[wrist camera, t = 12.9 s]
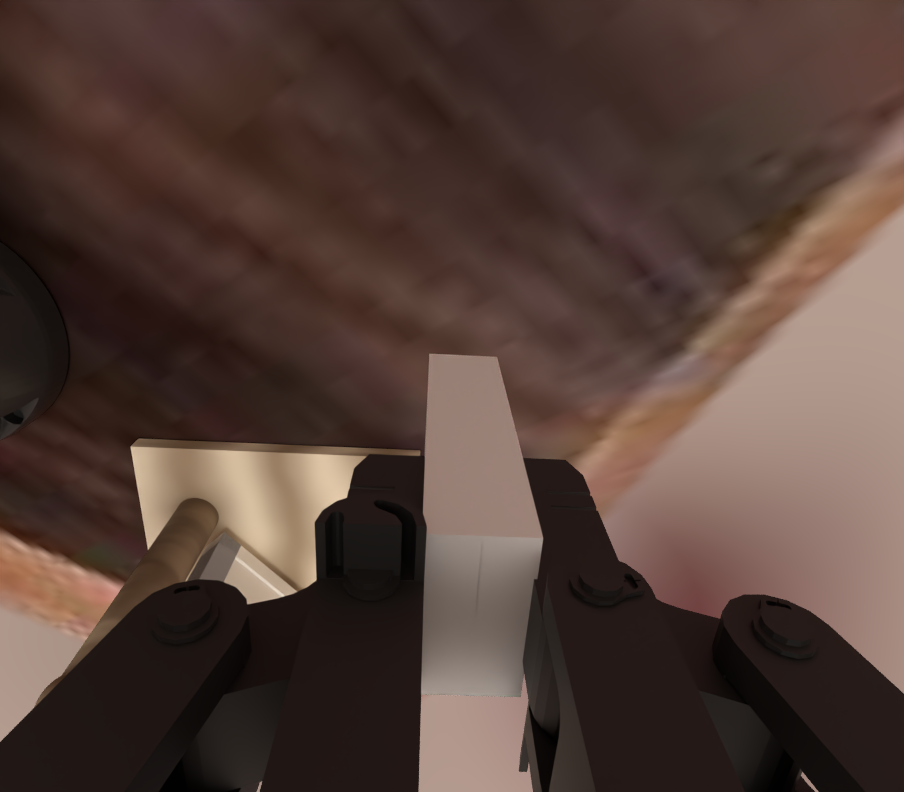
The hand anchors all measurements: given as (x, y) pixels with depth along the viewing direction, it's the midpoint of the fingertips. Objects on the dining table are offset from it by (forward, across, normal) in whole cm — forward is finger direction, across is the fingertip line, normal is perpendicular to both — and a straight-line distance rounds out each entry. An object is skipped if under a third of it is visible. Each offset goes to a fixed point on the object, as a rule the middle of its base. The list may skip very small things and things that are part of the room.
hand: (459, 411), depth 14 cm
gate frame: (+26, -11, -25) cm, 38 cm away
